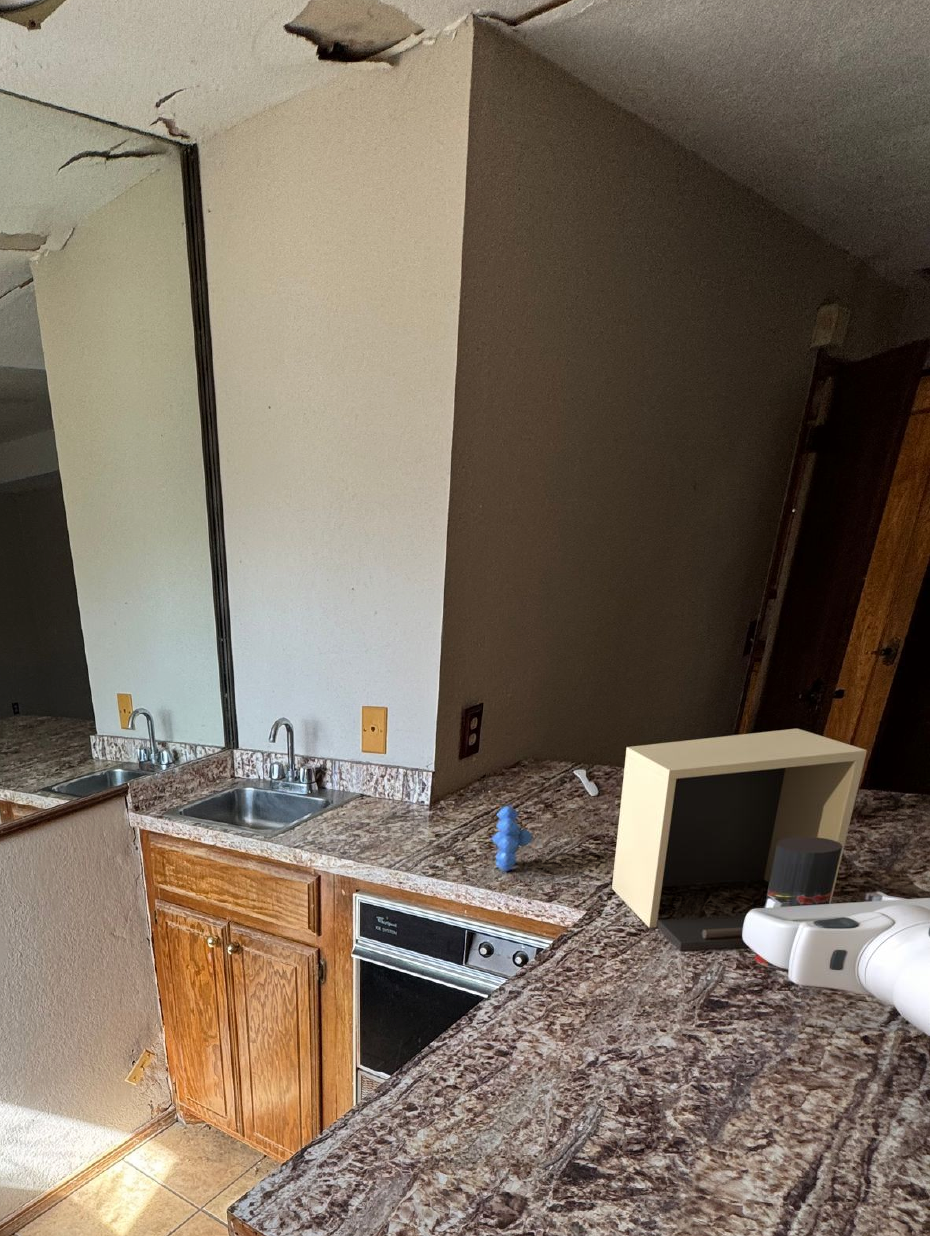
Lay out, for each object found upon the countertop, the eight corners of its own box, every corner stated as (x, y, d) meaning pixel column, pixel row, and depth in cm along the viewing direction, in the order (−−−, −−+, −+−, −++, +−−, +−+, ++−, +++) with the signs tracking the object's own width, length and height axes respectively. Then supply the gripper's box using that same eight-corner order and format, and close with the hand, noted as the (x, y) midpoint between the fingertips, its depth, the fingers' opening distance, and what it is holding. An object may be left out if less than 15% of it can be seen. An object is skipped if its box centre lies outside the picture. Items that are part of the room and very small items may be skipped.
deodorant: (825, 970, 93) (854, 850, 87) (768, 972, 94) (793, 854, 88) (798, 949, 98) (824, 835, 92) (745, 952, 100) (767, 839, 93)
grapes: (534, 881, 131) (538, 812, 126) (490, 882, 133) (493, 814, 128) (529, 859, 141) (533, 793, 135) (489, 860, 143) (491, 796, 138)
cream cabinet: (768, 877, 119) (797, 728, 109) (864, 940, 98) (910, 763, 88) (611, 888, 124) (626, 747, 114) (671, 951, 103) (695, 784, 93)
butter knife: (586, 769, 188) (573, 770, 189) (601, 794, 168) (586, 795, 169) (586, 770, 188) (572, 771, 189) (601, 796, 168) (586, 797, 169)
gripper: (1039, 915, 72) (936, 867, 84) (789, 928, 77) (725, 881, 89) (1017, 975, 75) (920, 920, 87) (776, 985, 79) (716, 932, 92)
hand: (820, 901), depth 88 cm, fingers open, 8 cm apart
